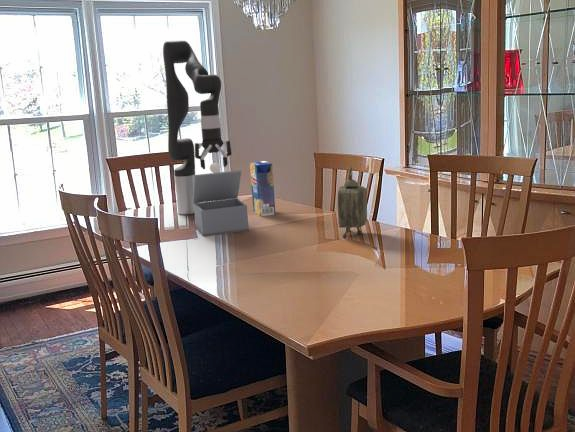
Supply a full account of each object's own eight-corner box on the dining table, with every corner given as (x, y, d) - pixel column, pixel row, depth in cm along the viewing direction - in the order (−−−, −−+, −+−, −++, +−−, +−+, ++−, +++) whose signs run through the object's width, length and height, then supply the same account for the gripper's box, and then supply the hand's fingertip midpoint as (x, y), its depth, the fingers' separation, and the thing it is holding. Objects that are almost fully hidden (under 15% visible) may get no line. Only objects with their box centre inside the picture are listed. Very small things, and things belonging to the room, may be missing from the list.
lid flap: (193, 203, 262) (189, 189, 266) (237, 198, 267) (233, 184, 271) (194, 176, 249) (191, 162, 254) (241, 171, 255) (236, 157, 259)
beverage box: (268, 209, 289) (264, 160, 284) (275, 214, 279) (272, 163, 274) (253, 211, 287) (249, 162, 282) (260, 216, 277) (256, 165, 272)
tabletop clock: (343, 229, 246) (341, 164, 241) (367, 229, 244) (365, 163, 239) (339, 239, 232) (336, 170, 227) (364, 239, 230) (362, 170, 225)
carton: (196, 227, 264) (193, 203, 262) (239, 222, 269) (237, 198, 267) (203, 236, 249) (201, 210, 247) (248, 230, 254) (246, 205, 252)
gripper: (226, 124, 260) (229, 164, 264) (191, 127, 256) (195, 168, 260) (230, 126, 253) (234, 167, 257) (194, 129, 249) (198, 170, 253)
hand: (214, 167), depth 258 cm, fingers open, 8 cm apart
